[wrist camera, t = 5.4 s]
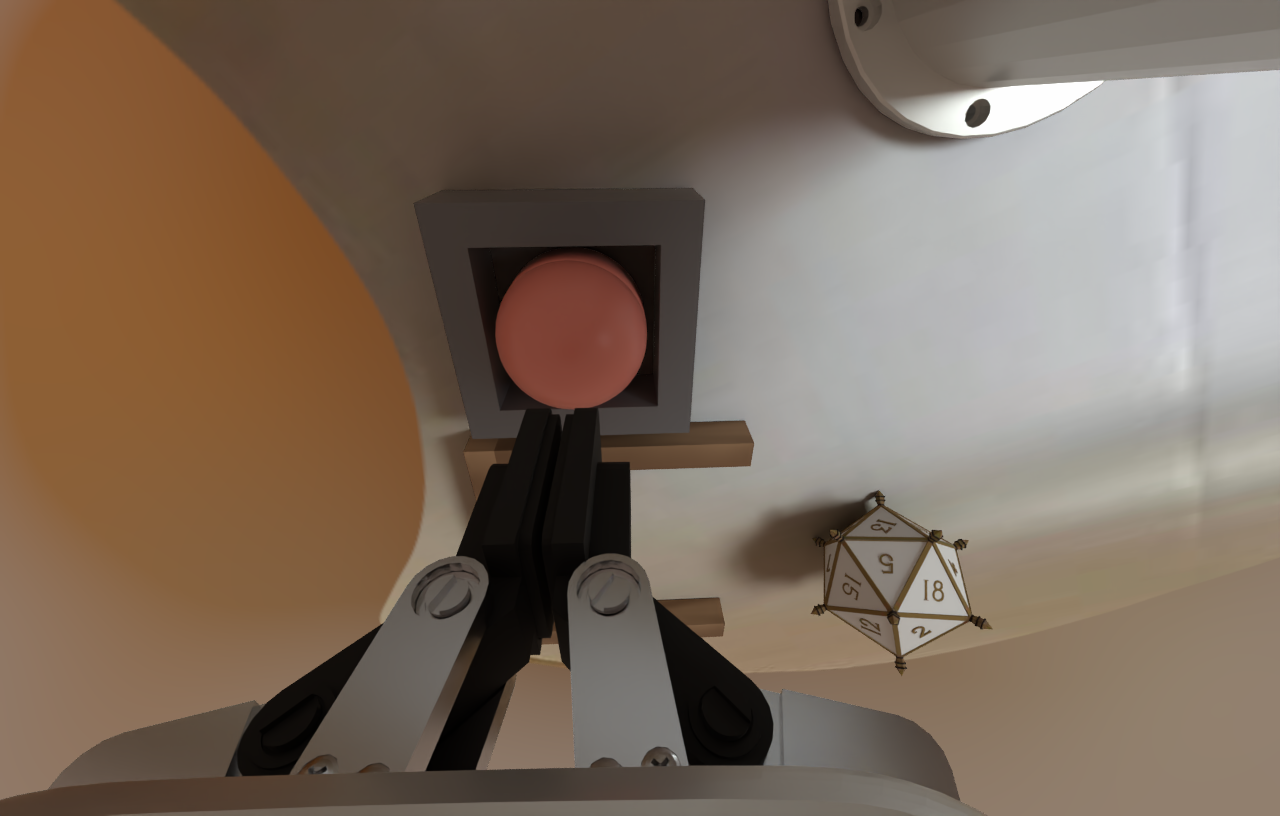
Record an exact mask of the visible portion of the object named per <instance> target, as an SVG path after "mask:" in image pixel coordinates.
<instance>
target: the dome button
mask: <svg viewBox="0 0 1280 816" xmlns="http://www.w3.org/2000/svg"><path fill="white" fill-rule="evenodd" d="M495 337H496V346H497V349H498V353H499V357H500V359H501V362H502V364H503V366H504V368H505V370H506V372H507V373H508V375H509V376H510V377H511V379H512V380H513V381H514V383H515V384H516V385H517V386H518V387H519V388H520V389H521V390H522V391H523V392H525V393H526V394H527V395H529V396H530V397H532V398H533V399H535V400H537V401H539V402H541V403H543V404H546V405H549V406H552V407H556V408H561V409H575V408H590V407H594V406H597V405H600V404H602V403H605V402H607V401H608V400H610V399H612V398H613V397H615V396H617V395H618V394H619V393H620V392H622V391H623V390H624V389H625V388H626V387H627V386H628V385H629V383H630V382H631V381H632V379H633V378H634V377H635V375H636V374H637V372H638V370H639V368H640V366H641V363H642V361H643V358H644V355H645V350H646V344H647V326H646V318H645V311H644V305H643V300H642V297H641V294H640V291H639V289H638V287H637V285H636V283H635V281H634V280H633V279H632V277H631V276H630V274H629V273H628V272H627V271H626V270H625V269H624V268H623V267H622V266H621V265H620V264H619V263H617V262H616V261H615V260H613V259H612V258H610V257H608V256H606V255H604V254H602V253H600V252H597V251H594V250H591V249H587V248H582V247H562V248H557V249H552V250H549V251H547V252H544V253H542V254H540V255H538V256H536V257H535V258H533V259H532V260H531V261H529V262H528V263H527V264H526V265H525V266H524V267H523V268H522V269H521V270H520V272H519V273H518V274H517V276H516V277H515V279H514V280H513V282H512V284H511V285H510V287H509V289H508V290H507V292H506V294H505V296H504V298H503V300H502V302H501V305H500V307H499V310H498V313H497V319H496V331H495Z"/></svg>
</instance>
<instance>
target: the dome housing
mask: <svg viewBox="0 0 1280 816" xmlns="http://www.w3.org/2000/svg"><path fill="white" fill-rule="evenodd" d="M414 207H415V211H416V215H417V219H418V223H419V227H420V231H421V235H422V239H423V243H424V247H425V251H426V255H427V259H428V263H429V267H430V271H431V275H432V279H433V283H434V287H435V291H436V295H437V299H438V303H439V307H440V311H441V315H442V319H443V323H444V327H445V331H446V335H447V339H448V343H449V347H450V351H451V355H452V359H453V363H454V367H455V371H456V375H457V379H458V383H459V387H460V391H461V395H462V399H463V403H464V407H465V411H466V415H467V419H468V423H469V427H470V431H471V435H472V439H491V438H517V435H518V432H519V429H520V426H521V423H522V420H523V417H524V414H525V411H526V409H531V408H550V409H551V410H552V414H559V415H560V417H561V425H562V431H563V426H564V421H565V416H566V414H574V410H575V409H561V408H556V407H552V406H549V405H546V404H543V403H541V402H539V401H537V400H535V399H533V398H532V397H530V396H529V395H527V394H526V393H525V392H523V391H522V390H521V389H520V388H519V387H518V386H517V385H516V384H515V383H514V381H513V380H512V379H511V377H510V376H509V375H508V373H507V372H506V370H505V368H504V366H503V364H502V362H501V359H500V357H499V353H498V349H497V346H496V337H495V331H496V319H497V313H498V310H499V307H500V303H499V297H498V291H497V286H496V280H495V274H494V268H493V263H492V257H491V251H490V248H492V247H559V246H626V245H655V281H654V356H653V374H645V375H635V377H634V378H633V379H632V381H631V382H630V383H629V385H628V386H627V387H626V388H625V389H624V390H623V391H622V392H620V393H619V394H618V395H617V396H615V397H613V398H612V399H610V400H608V401H607V402H605V403H602V404H600V405H597V406H594V407H590V408H598V410H599V422H600V435H626V434H660V433H689V432H690V417H691V402H692V387H693V372H694V357H695V342H696V327H697V312H698V297H699V282H700V267H701V252H702V237H703V222H704V207H705V200H704V199H703V198H702V197H701V196H700V195H699V194H698V193H697V192H696V191H695V190H694V189H693V188H640V189H546V190H452V191H440V192H437V193H435V194H433V195H431V196H429V197H426V198H424V199H422V200H420V201H418V202H415V203H414Z"/></svg>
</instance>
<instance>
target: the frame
mask: <svg viewBox="0 0 1280 816" xmlns="http://www.w3.org/2000/svg"><path fill="white" fill-rule="evenodd" d="M600 438H601V453H602V462H630V470H645V469H676V468H707V467H738V466H751V460H752V453H753V447H754V442H753V439H752V437H751V434H750V432H749V430H748V427H747V425H746V422H745V421H720V422H690V432H689V433H660V434H626V435H600ZM515 441H516V438H491V439H472V435H471V436H470V438H469V440H468V443H467V445H466V447H465V449H464V451H463V453H464V457H465V460H466V464H467V468H468V472H469V475H470V479H471V483H472V487H473V490H474V494H475V498H476V501H477V499H478V496H479V494H480V491H481V488H482V486H483V483H484V480H485V478H486V475H487V472H488V470H489V468H490V466H491V465H492V464H508V462H509V459H510V456H511V453H512V450H513V447H514V444H515ZM657 601H658V602H659V603H661V604H662V605H663V606H664V607H665V608H666V609H668V610H669V611H670V612H671V613H672V614H674V615H675V616H676V617H677V618H678V619H679V620H681V621H682V622H683V623H684V624H685V625H687V626H688V627H689V628H690V629H691V630H692V631H694V632H695V633H696V634H697V635H698V636H700V637H716V636H723V632H724V626H725V622H724V618H723V613H722V608H721V603H720V599H719V598H704V599H681V600H657ZM542 644H558V638H557V633H556V628H555V622H554V624H553V631H552V636H551V638H543V639H542Z"/></svg>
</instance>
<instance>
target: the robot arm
mask: <svg viewBox="0 0 1280 816" xmlns="http://www.w3.org/2000/svg"><path fill="white" fill-rule="evenodd" d="M828 5H829V13H830V20H831V25H832V28H833V31H834V35H835V38H836V41H837V44H838V47H839V50H840V53H841V57H842V60H843V62H844V63H845V65H846V67H847V69H848V71H849V72H850V74H851V76H852V78H853V79H854V81H855V83H856V85H857V86H858V88H859V90H860V91H861V92H862V93H863V94H864V95H865V96H866V97H867V99H868V100H869V101H870V102H871V103H872V104H873V105H874V106H875V107H876V108H877V109H878V110H879V111H880V112H881V113H882V114H884V115H885V116H887V117H889V118H890V119H892V120H893V121H895V122H897V123H898V124H900V125H901V126H903V127H904V128H907V129H911V130H914V131H917V132H920V133H924V134H927V135H930V136H938V137H949V138H957V139H964V138H980V137H993V136H996V135H1000V134H1004V133H1008V132H1011V131H1015V130H1019V129H1022V128H1026V127H1028V126H1030V125H1032V124H1035V123H1037V122H1039V121H1041V120H1043V119H1045V118H1048V117H1050V116H1052V115H1054V114H1056V113H1059V112H1061V111H1062V110H1064V109H1065V108H1067V107H1068V106H1070V105H1071V104H1073V103H1075V102H1076V101H1078V100H1079V99H1081V98H1082V97H1084V96H1085V95H1087V94H1088V93H1090V92H1092V91H1093V90H1095V89H1096V88H1097V87H1099V86H1100V85H1101V84H1102V83H1103V82H1105V81H1108V80H1124V79H1140V78H1156V77H1173V76H1189V75H1205V74H1221V73H1237V72H1253V71H1269V70H1280V0H828ZM857 8H858V9H860V10H861V12H862V13H863V19H862V21H861V24H860V25H859V26H858V27H857V26H856V24H855V15H854V13H855V11H856V9H857ZM967 110H968V112H967ZM966 112H967V115H966V117H965V114H966ZM554 622H555V628H556V633H557V638H558V644H559V649H560V654H561V659H562V662H563V663H564V664H565V665H566V667H567V668H568V669H569V670H570V671H571V686H572V710H573V733H574V754H575V768H548V769H505V770H487V767H488V764H489V761H490V758H491V755H492V752H493V749H494V746H495V743H496V740H497V737H498V734H499V731H500V728H501V725H502V722H503V719H504V716H505V714H506V710H507V708H508V705H509V702H510V698H511V696H512V693H513V689H514V686H515V681H516V676H517V675H516V673H517V672H518V671H519V670H521V668H523V667H524V666H525V665H526V664H527V663H529V660H530V655H540V651H541V645H542V639H543V638H551V636H552V631H553V624H554ZM0 816H987V815H986V814H984V813H982V812H981V811H979V810H977V809H975V808H973V807H971V806H969V805H967V804H965V803H962V802H960V798H959V795H958V791H957V787H956V784H955V780H954V776H953V773H952V770H951V767H950V765H949V763H948V760H947V758H946V756H945V754H944V751H943V750H942V749H941V748H940V746H939V745H938V744H937V743H936V741H935V740H934V739H933V738H932V736H931V735H930V734H929V733H927V732H926V731H925V730H924V729H922V728H921V727H920V726H918V725H917V724H916V723H915V722H913V721H910V720H908V719H906V718H903V717H901V716H898V715H895V714H890V713H886V712H881V711H877V710H872V709H868V708H864V707H860V706H855V705H851V704H847V703H842V702H837V701H833V700H829V699H825V698H820V697H816V696H811V695H806V694H803V693H798V692H794V691H789V690H785V689H782V691H781V694H779V693H775V692H770V691H766V690H762V689H759V688H758V687H757V686H756V685H755V684H754V683H753V682H752V680H750V679H749V678H748V677H747V676H746V675H745V674H743V673H742V672H741V671H740V670H739V669H737V668H736V667H735V666H734V665H733V664H732V663H730V662H729V661H728V660H727V659H726V658H724V657H723V656H722V655H721V654H720V653H719V652H717V651H716V650H715V649H714V648H713V647H711V646H710V645H709V644H708V643H707V642H705V641H704V640H703V639H702V638H701V637H700V636H698V635H697V634H696V633H695V632H694V631H692V630H691V629H690V628H689V627H688V626H687V625H685V624H684V623H683V622H682V621H681V620H679V619H678V618H677V617H676V616H675V615H674V614H672V613H671V612H670V611H669V610H668V609H666V608H665V607H664V606H663V605H662V604H661V603H659V602H658V601H657V600H656V599H655V598H653V597H652V592H651V587H650V583H649V579H648V577H647V574H646V572H645V570H644V569H643V568H642V567H641V566H640V564H639V563H638V562H636V561H635V560H633V559H631V489H630V462H602V453H601V438H600V422H599V410H598V408H575V410H574V414H566V416H565V421H564V426H563V431H562V425H561V417H560V415H559V414H552V410H551V409H550V408H531V409H526V411H525V414H524V417H523V420H522V423H521V426H520V429H519V432H518V435H517V438H516V441H515V444H514V447H513V450H512V453H511V456H510V459H509V462H508V464H492V465H491V466H490V468H489V470H488V472H487V475H486V478H485V480H484V483H483V486H482V488H481V491H480V494H479V496H478V499H477V502H476V504H475V507H474V510H473V512H472V515H471V518H470V520H469V523H468V526H467V528H466V531H465V533H464V536H463V539H462V541H461V544H460V547H459V549H458V552H457V555H456V556H452V557H448V558H444V559H440V560H438V561H436V562H434V563H432V564H430V565H428V566H426V567H425V568H424V569H423V570H421V571H420V572H419V573H417V574H416V575H415V576H414V578H413V579H412V580H411V581H410V583H409V584H408V585H407V587H406V588H405V590H404V591H403V593H402V595H401V596H400V598H399V599H398V601H397V603H396V604H395V606H394V607H393V609H392V611H391V612H390V614H389V615H388V617H387V619H386V620H385V622H384V623H383V624H381V625H380V626H378V627H377V628H375V629H374V630H372V631H371V632H369V633H368V634H366V635H365V636H363V637H362V638H360V639H359V640H357V641H356V642H354V643H353V644H351V645H350V646H348V647H347V648H345V649H344V650H342V651H341V652H339V653H338V654H336V655H335V656H333V657H332V658H330V659H329V660H327V661H326V662H324V663H323V664H321V665H320V666H318V667H317V668H315V669H314V670H312V671H311V672H309V673H308V674H306V675H305V676H303V677H302V678H300V679H299V680H297V681H296V682H294V683H293V684H291V685H290V686H288V687H287V688H285V689H284V690H282V691H281V692H280V693H279V694H277V695H276V696H275V697H274V698H272V699H271V700H270V701H268V702H267V703H266V704H262V705H259V704H258V703H257V702H256V701H255V700H254V701H250V702H246V703H242V704H238V705H234V706H229V707H225V708H221V709H217V710H213V711H209V712H206V713H201V714H197V715H193V716H189V717H185V718H181V719H177V720H173V721H169V722H165V723H161V724H157V725H153V726H149V727H145V728H140V729H137V730H133V731H129V732H124V733H122V734H119V735H117V736H114V737H111V738H109V739H106V740H104V741H102V742H101V743H99V744H98V745H96V746H94V747H93V748H91V749H90V750H88V751H86V752H85V753H83V754H82V755H81V756H80V757H78V758H77V759H76V760H75V761H74V762H73V763H71V765H69V766H68V767H67V768H66V769H65V770H64V771H63V772H61V774H60V775H59V776H58V777H57V779H56V780H55V781H54V782H53V784H52V785H51V786H50V787H49V789H48V790H43V791H38V792H33V793H27V794H23V795H17V796H13V797H10V798H6V799H2V800H0Z"/></svg>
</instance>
